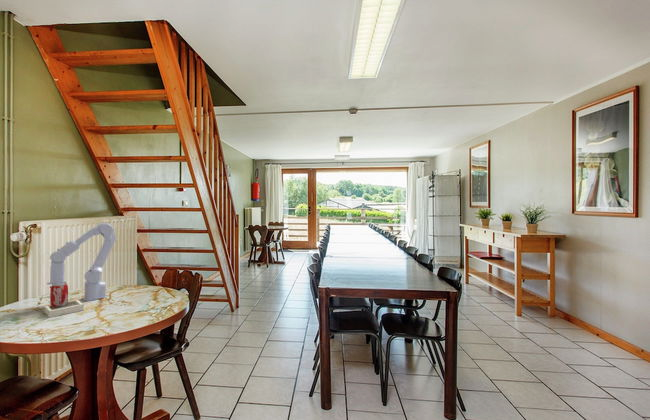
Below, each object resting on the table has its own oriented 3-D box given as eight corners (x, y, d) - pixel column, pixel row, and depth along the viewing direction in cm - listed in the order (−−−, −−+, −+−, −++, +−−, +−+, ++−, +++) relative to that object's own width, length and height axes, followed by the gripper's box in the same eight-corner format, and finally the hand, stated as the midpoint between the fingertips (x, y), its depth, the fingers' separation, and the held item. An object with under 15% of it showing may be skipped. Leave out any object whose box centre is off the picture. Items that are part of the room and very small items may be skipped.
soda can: (71, 304, 159) (71, 283, 158) (55, 309, 152) (55, 286, 151) (62, 301, 161) (62, 280, 160) (46, 306, 154) (46, 284, 153)
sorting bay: (77, 305, 158) (77, 299, 158) (83, 310, 151) (83, 304, 151) (44, 311, 148) (44, 305, 148) (49, 317, 141) (49, 311, 141)
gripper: (44, 272, 161) (44, 297, 161) (49, 276, 151) (49, 303, 151) (61, 270, 166) (61, 294, 166) (67, 274, 157) (67, 300, 157)
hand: (56, 298), depth 159 cm, fingers closed
